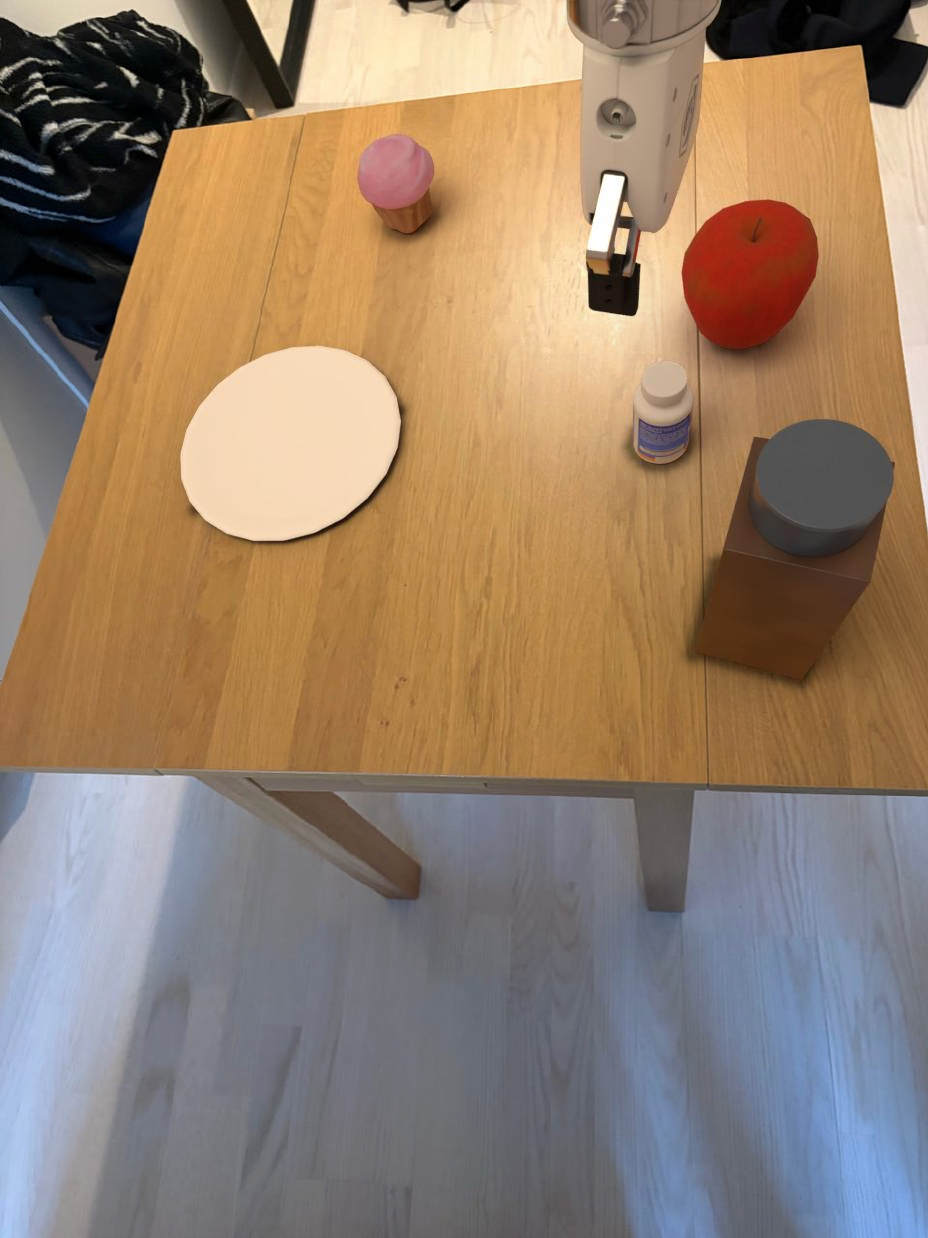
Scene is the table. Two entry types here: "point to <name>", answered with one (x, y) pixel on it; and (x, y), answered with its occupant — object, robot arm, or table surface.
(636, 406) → the pill bottle
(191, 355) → the table surface
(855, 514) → the tin
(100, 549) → the table surface
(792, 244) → the apple
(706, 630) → the stand
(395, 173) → the cupcake
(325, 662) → the table surface
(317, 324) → the table surface
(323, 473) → the plate
